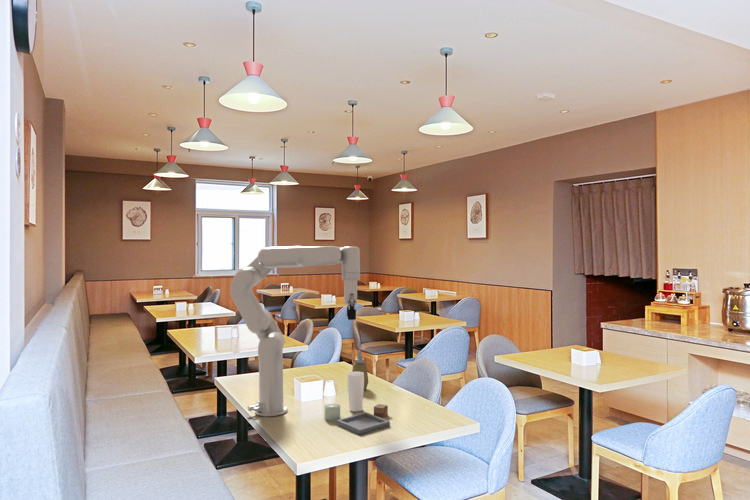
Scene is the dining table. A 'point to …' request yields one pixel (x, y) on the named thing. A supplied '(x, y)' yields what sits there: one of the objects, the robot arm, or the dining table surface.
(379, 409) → the walnut block
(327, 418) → the pale green rounded cylinder
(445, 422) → the dining table surface
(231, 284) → the robot arm
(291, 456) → the dining table surface
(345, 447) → the dining table surface
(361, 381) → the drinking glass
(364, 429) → the slate tray
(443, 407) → the dining table surface
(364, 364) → the squeeze bottle
